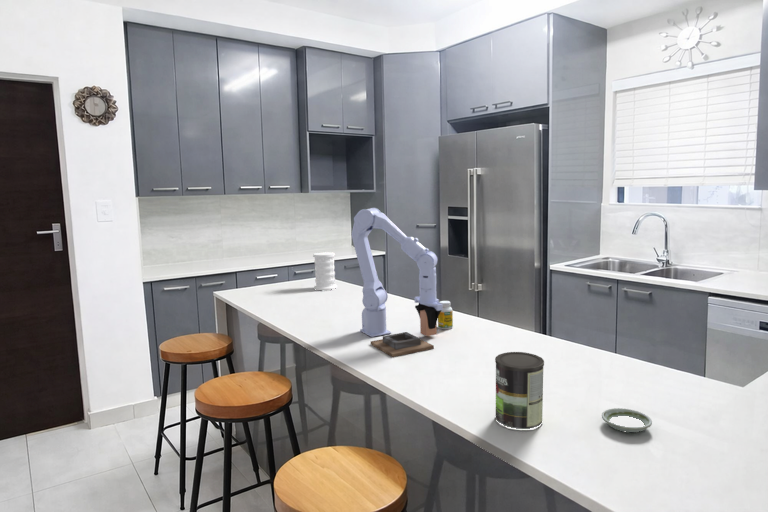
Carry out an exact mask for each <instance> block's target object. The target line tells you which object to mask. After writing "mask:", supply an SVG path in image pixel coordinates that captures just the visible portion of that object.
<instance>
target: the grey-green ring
mask: <svg viewBox="0 0 768 512" xmlns="http://www.w3.org/2000/svg"><path fill="white" fill-rule="evenodd" d="M618 416H629V417H633V418H636V419H639V420H641V421H642V422H643V423H644V425H645V426H643V427H625V426H620V425H616V424H614V423H611V422H609V421H610V419H611V418H612V417H618ZM601 418H602V420H603V422H605V423H606V424H607V425H608V426H610V427H611V428H613V429H615V430H616V429H618V430H621V431H626V432H636V433H639V431H640V432H642V431H645V430H647V429H649V428H651V426H652V424H653V421H652V418H651V417H649V416H648V415H647V414H645V413H643V412H641V411H638V410H635V409H629V408H623V407H622V408H620V407H616V408H615V407H614V408H607V409H605V410H603V412H602V413H601ZM618 430H617V431H618ZM621 431H620V432H621Z"/></svg>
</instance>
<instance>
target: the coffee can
mask: <svg viewBox="0 0 768 512" xmlns="http://www.w3.org/2000/svg"><path fill="white" fill-rule="evenodd" d="M494 362H495V416H496V420H497V421H498V422H499V423H501V424H503V425H504V426H507V427H511V428H516V429H530V428H534V427H537V426H539V425H540V424H541V423H542V421H543V407H544V404H543V402H544V401H543V400H544V366H545V360H544V359H543V358H542V357H541V356H539V355H536V354H533V353H530V352H523V351H510V352H509V351H508V352H503V353H500V354H498V355H496V356H495V359H494ZM496 420H495V421H496Z"/></svg>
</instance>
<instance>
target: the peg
mask: <svg viewBox="0 0 768 512" xmlns="http://www.w3.org/2000/svg"><path fill="white" fill-rule="evenodd" d="M419 320H420V321H419V323H420V325H419V326H420V334H422V335H424V336H425V337H430V336H434V335H437V334H438V333H437V332H438V331H437V329H438V328H437V327H438V321H437V322H436V327H435V328H434V329H429V326H428V318H427V315H426V312H425V310H421V311H420V317H419Z"/></svg>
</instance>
